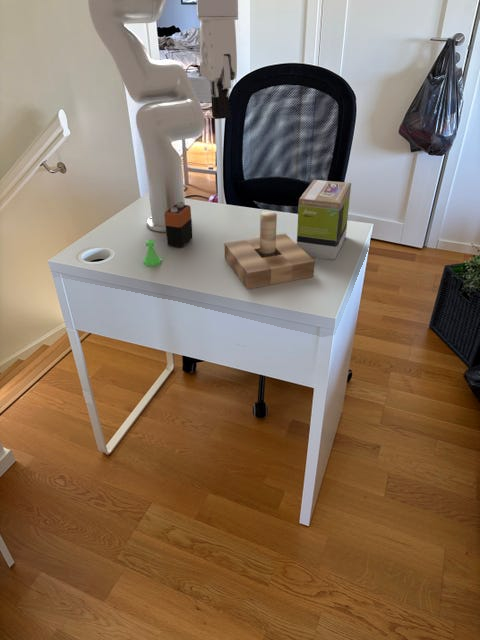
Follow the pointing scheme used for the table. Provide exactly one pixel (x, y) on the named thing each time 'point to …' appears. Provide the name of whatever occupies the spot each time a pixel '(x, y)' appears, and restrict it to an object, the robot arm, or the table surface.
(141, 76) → the robot arm
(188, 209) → the battery
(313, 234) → the tea box
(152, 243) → the game piece
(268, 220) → the peg
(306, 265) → the board
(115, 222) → the table surface
